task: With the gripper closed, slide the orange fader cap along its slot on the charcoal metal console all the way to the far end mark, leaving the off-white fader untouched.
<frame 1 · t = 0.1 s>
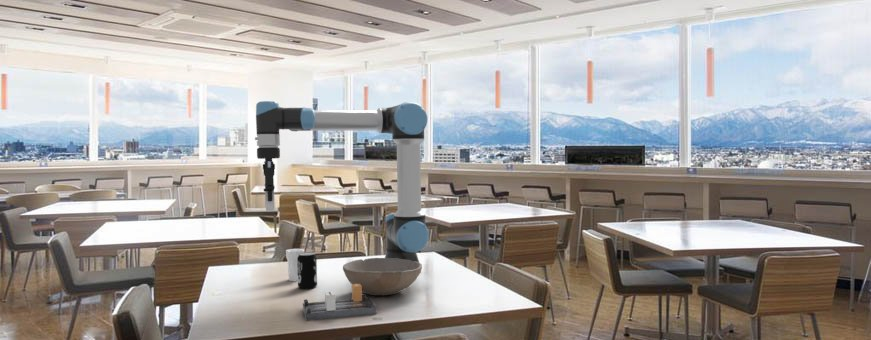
hand: (269, 209, 204), 28 cm above the table, fingers open, 13 cm apart
white fader: (330, 301, 171), point 4 cm above the table, slide at 0.0 cm
cup: (295, 280, 222), on the table
console: (339, 311, 176), on the table
bowl: (382, 294, 198), on the table
orange fader: (356, 292, 181), point 4 cm above the table, slide at 0.0 cm
beverage can: (307, 288, 209), on the table
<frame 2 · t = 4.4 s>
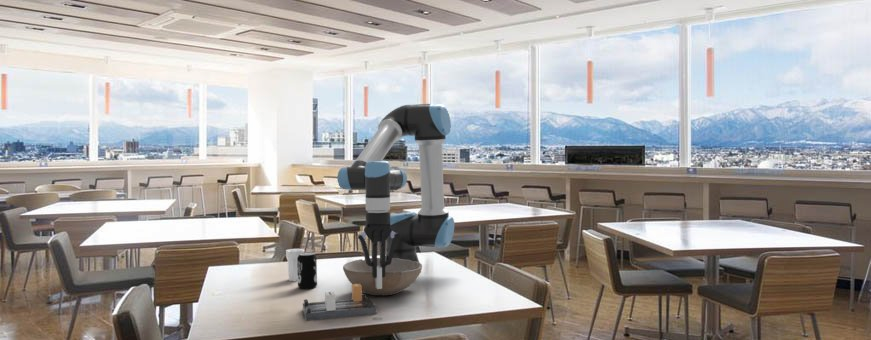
hand: (378, 288, 183), 5 cm above the table, fingers closed
nothing on the table moved.
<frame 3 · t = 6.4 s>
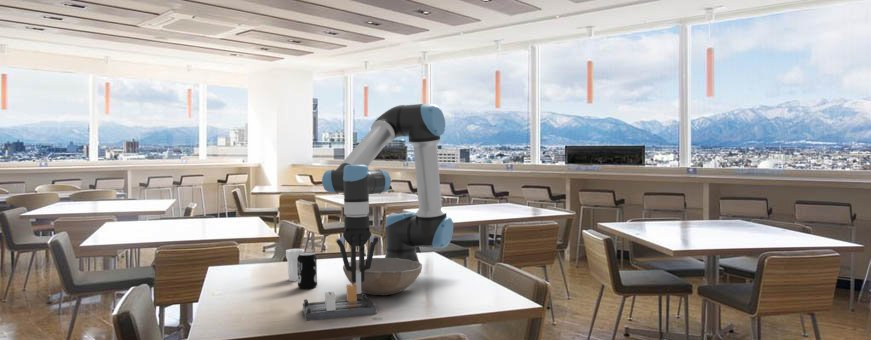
hand: (358, 292, 181), 4 cm above the table, fingers closed
orange fader: (351, 292, 181), point 4 cm above the table, slide at 1.6 cm, touching gripper
everything else where it was.
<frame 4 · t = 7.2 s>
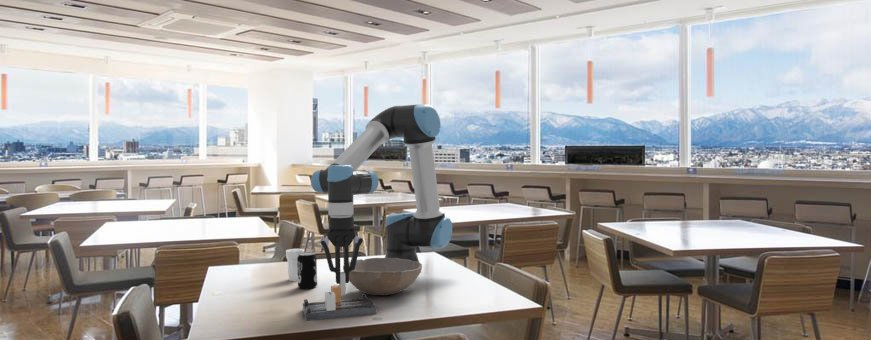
hand: (342, 294, 180), 4 cm above the table, fingers closed
orange fader: (335, 294, 180), point 4 cm above the table, slide at 6.3 cm, touching gripper
everything else where it was.
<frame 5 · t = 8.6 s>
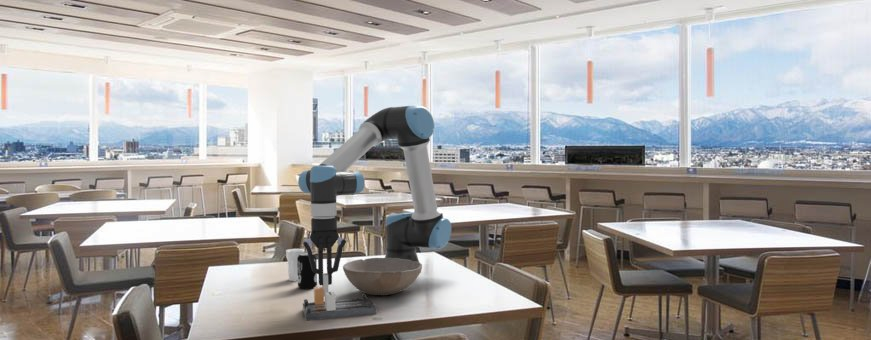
hand: (325, 295, 179), 4 cm above the table, fingers closed
orange fader: (318, 295, 178), point 4 cm above the table, slide at 11.4 cm, touching gripper
everything else where it was.
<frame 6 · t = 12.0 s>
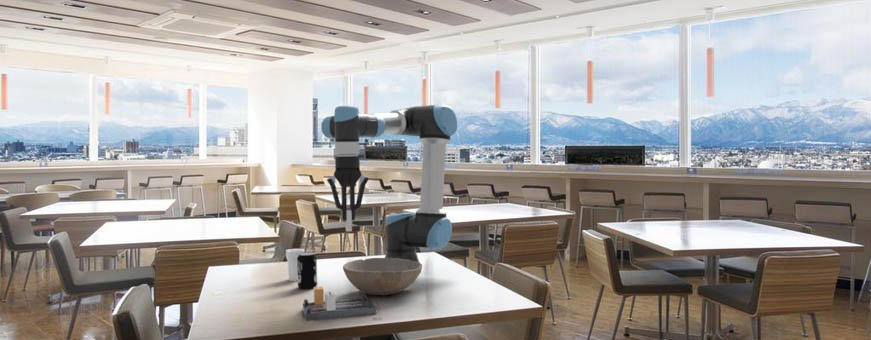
hand: (348, 230, 187), 22 cm above the table, fingers closed
orange fader: (318, 295, 178), point 4 cm above the table, slide at 11.4 cm
everything else where it was.
at the end: orange fader slide at 11.4 cm; white fader slide at 0.0 cm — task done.
